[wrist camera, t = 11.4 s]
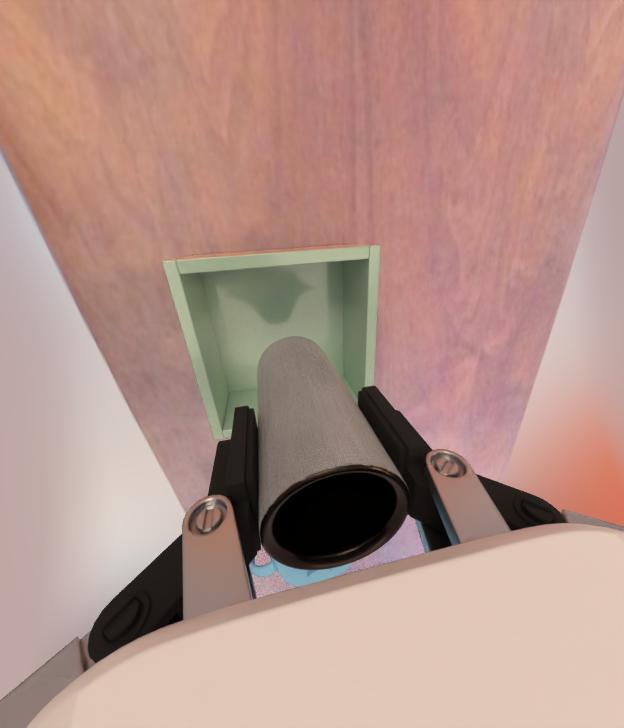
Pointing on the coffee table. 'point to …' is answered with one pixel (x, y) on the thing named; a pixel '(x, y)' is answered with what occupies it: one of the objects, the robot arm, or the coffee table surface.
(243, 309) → the green open box
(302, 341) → the grey hollow cylinder
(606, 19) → the coffee table surface
